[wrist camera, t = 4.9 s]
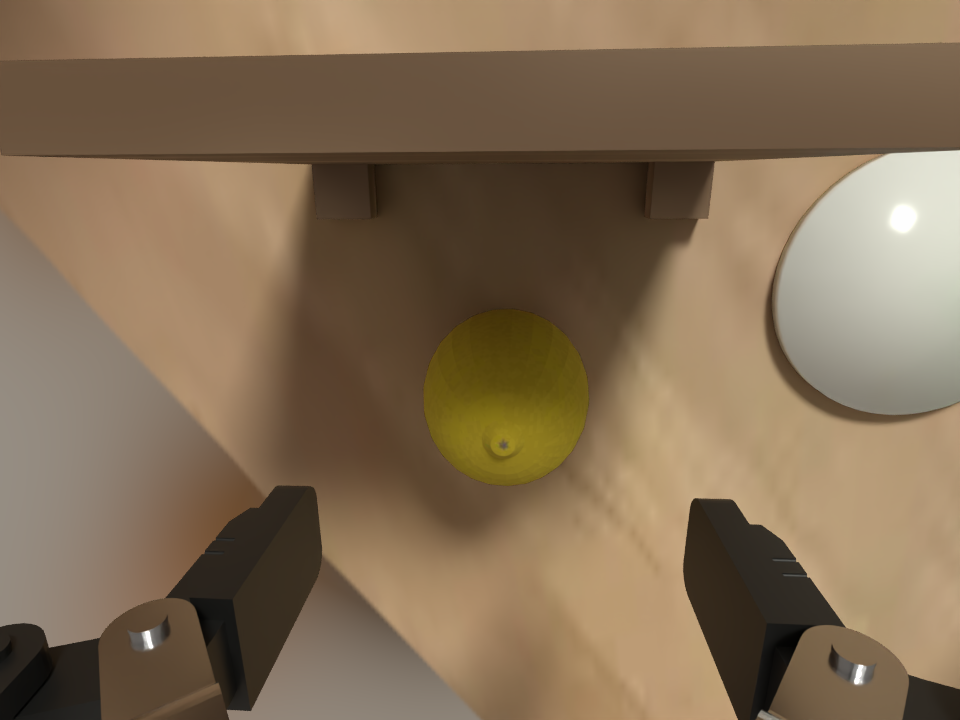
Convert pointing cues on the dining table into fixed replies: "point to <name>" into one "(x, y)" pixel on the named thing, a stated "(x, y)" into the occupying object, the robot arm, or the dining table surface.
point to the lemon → (506, 397)
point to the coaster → (877, 286)
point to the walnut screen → (492, 111)
